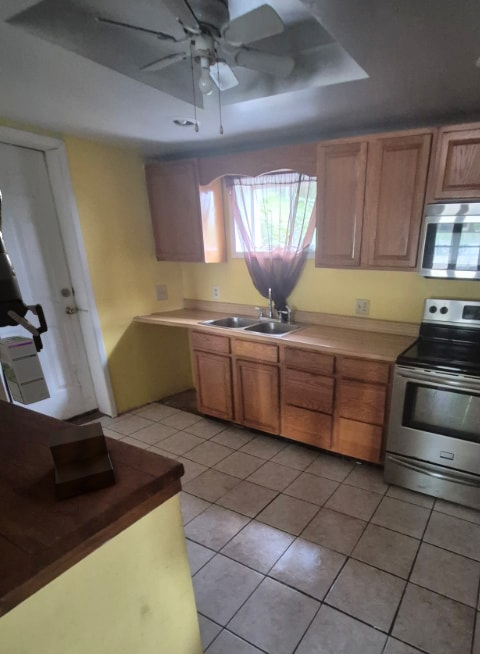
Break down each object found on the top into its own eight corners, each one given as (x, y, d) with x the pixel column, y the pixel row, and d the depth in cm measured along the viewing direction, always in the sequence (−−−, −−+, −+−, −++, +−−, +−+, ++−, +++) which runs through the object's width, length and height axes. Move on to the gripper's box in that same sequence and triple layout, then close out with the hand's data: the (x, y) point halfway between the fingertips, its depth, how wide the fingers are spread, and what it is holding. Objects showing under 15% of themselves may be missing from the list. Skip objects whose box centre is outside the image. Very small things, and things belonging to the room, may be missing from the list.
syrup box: (51, 397, 88) (34, 337, 82) (24, 406, 83) (4, 343, 77) (39, 392, 90) (21, 334, 85) (11, 401, 86) (-9, 339, 80)
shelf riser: (60, 499, 80) (49, 464, 76) (58, 464, 92) (49, 432, 88) (116, 483, 85) (108, 449, 81) (107, 452, 97) (100, 421, 94)
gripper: (35, 274, 82) (55, 346, 89) (-49, 277, 75) (-21, 355, 82) (35, 276, 76) (55, 353, 83) (-57, 280, 69) (-26, 363, 76)
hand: (17, 354), depth 82 cm, fingers closed on syrup box, 7 cm apart
